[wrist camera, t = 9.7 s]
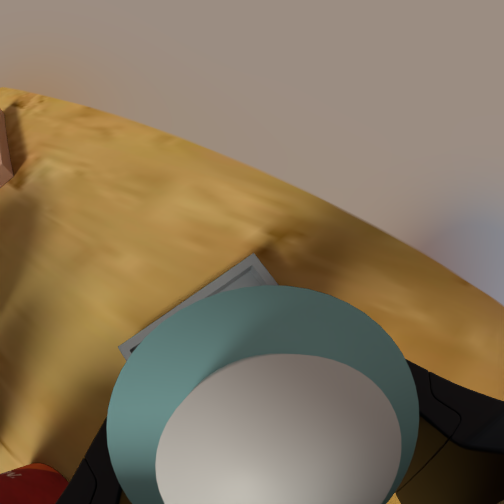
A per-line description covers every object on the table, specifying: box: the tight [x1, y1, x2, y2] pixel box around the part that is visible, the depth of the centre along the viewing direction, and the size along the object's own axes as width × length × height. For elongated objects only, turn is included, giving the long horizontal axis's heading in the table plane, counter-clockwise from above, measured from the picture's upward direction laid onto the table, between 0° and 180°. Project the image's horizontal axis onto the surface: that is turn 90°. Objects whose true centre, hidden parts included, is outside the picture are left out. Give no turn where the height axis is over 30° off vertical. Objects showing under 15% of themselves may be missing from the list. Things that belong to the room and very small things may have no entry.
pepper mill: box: [106, 285, 419, 504], centre depth 8 cm, size 5×5×12 cm
